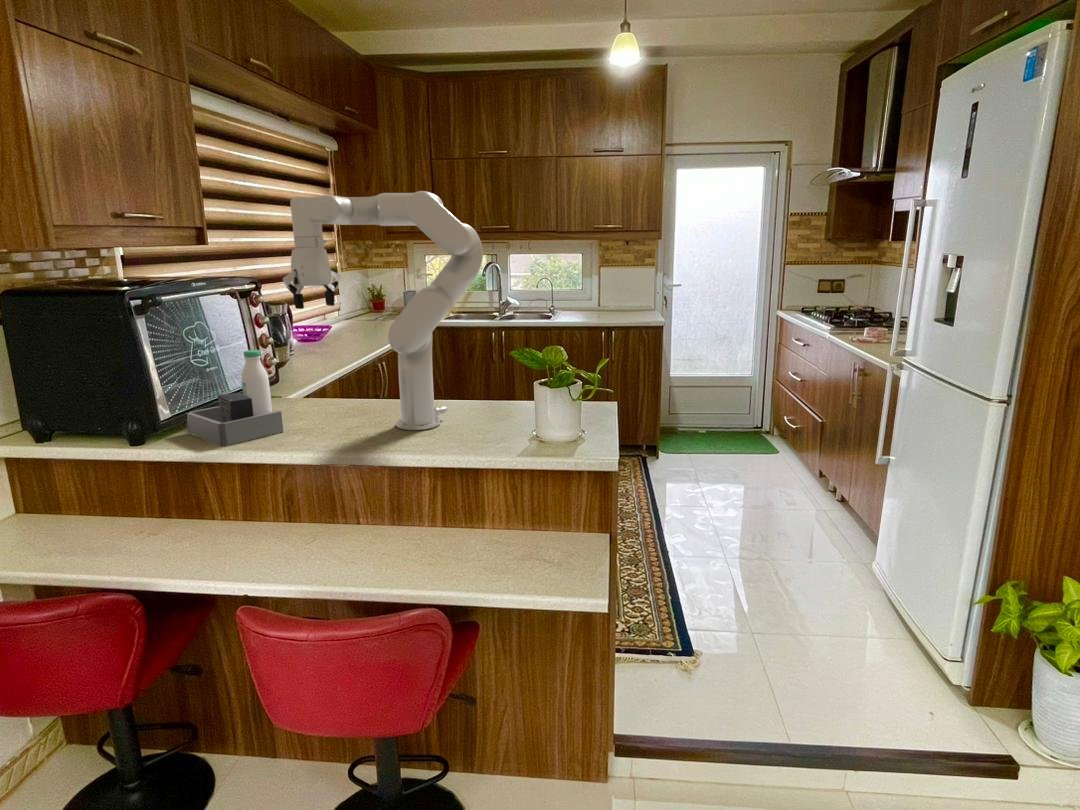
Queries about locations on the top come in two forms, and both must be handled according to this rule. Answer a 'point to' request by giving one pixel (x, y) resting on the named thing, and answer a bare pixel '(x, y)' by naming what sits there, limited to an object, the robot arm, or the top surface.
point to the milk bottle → (256, 383)
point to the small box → (235, 407)
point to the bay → (232, 426)
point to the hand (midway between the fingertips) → (315, 306)
